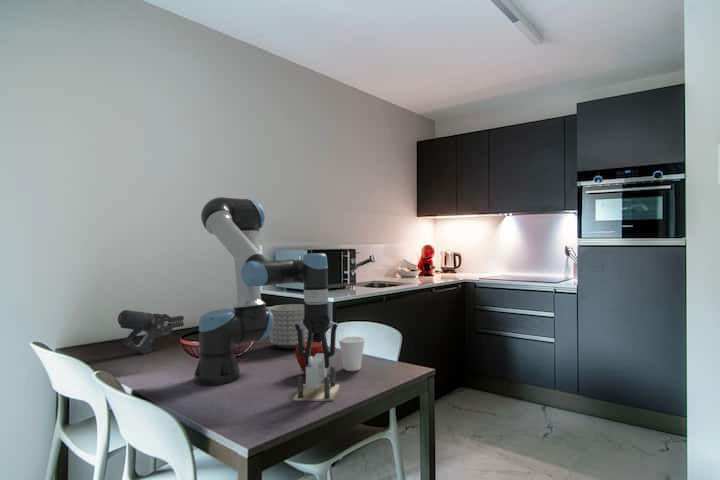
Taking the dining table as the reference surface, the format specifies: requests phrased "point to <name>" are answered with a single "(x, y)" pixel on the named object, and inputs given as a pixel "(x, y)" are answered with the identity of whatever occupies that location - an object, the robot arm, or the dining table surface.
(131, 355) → the dining table surface
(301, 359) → the apple
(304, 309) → the robot arm
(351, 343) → the cup
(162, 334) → the gun
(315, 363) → the grey stepped post
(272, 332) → the planter
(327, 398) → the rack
